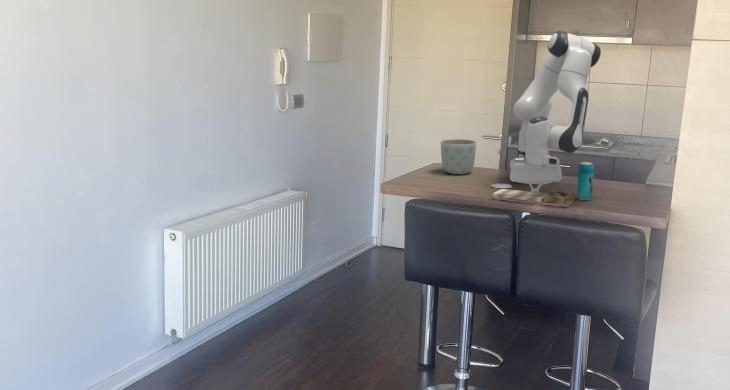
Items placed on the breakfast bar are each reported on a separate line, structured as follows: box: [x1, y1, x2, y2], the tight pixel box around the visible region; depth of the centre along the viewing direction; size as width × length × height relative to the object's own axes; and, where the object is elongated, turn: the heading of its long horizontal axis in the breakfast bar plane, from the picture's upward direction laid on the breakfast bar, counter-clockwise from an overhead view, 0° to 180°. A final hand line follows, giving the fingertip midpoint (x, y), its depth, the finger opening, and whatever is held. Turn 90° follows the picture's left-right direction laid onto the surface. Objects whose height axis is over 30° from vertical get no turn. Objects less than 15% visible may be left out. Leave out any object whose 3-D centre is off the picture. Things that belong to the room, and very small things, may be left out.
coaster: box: [490, 183, 513, 189], centre depth 315 cm, size 9×9×1 cm
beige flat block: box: [492, 188, 549, 202], centre depth 291 cm, size 20×10×2 cm, turn 60°
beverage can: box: [576, 161, 595, 201], centre depth 289 cm, size 6×6×15 cm
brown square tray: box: [541, 189, 574, 205], centre depth 284 cm, size 10×10×4 cm
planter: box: [440, 138, 477, 175], centre depth 344 cm, size 17×17×15 cm
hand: (534, 192), depth 288 cm, fingers closed
